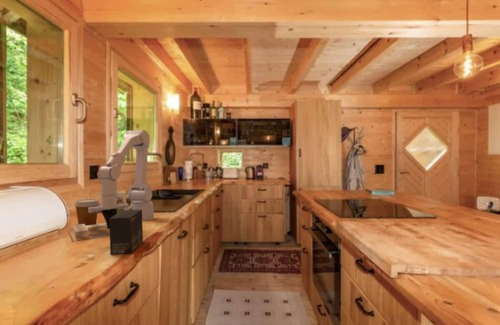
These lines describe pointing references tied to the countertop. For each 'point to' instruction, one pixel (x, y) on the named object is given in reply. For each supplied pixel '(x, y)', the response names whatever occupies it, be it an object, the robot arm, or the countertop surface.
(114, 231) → the small box
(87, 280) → the countertop surface
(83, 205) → the disposable coffee cup
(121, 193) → the pitcher
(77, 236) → the t block
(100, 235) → the mat
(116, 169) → the robot arm
